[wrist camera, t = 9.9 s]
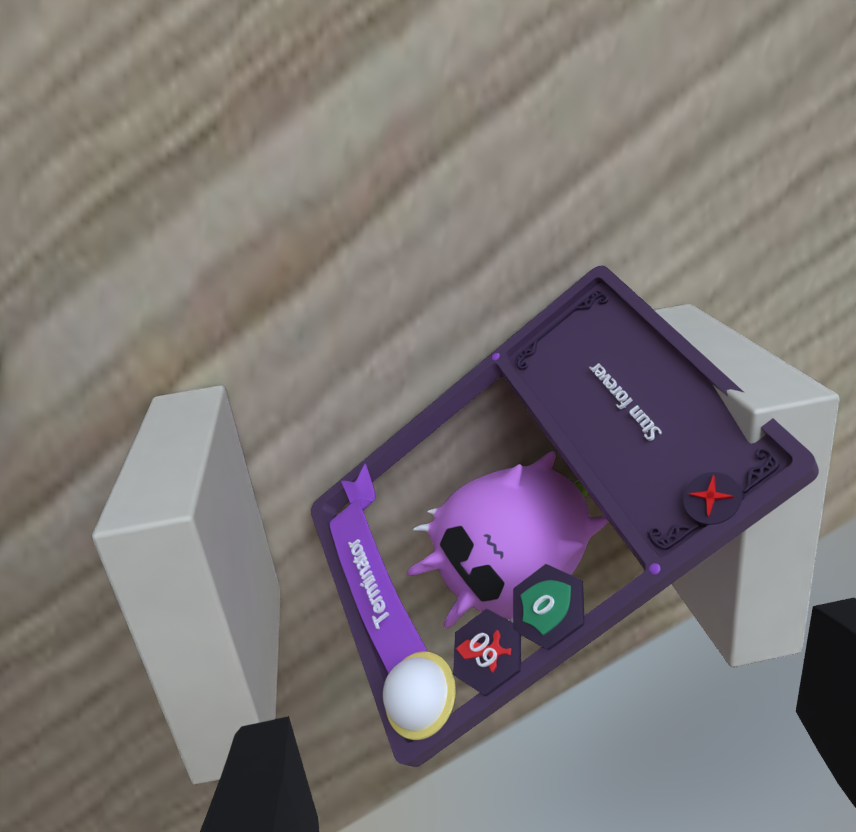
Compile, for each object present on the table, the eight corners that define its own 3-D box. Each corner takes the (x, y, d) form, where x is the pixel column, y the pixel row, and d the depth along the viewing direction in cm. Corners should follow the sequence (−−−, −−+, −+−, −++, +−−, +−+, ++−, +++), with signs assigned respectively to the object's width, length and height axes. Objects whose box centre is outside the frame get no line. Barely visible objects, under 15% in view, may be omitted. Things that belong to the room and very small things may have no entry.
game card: (813, 442, 11) (373, 764, 13) (859, 554, 15) (513, 795, 16) (587, 241, 16) (287, 494, 17) (664, 364, 19) (411, 565, 21)
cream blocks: (219, 603, 19) (191, 787, 14) (152, 395, 16) (88, 535, 11) (682, 511, 20) (803, 654, 15) (691, 302, 17) (842, 394, 12)
